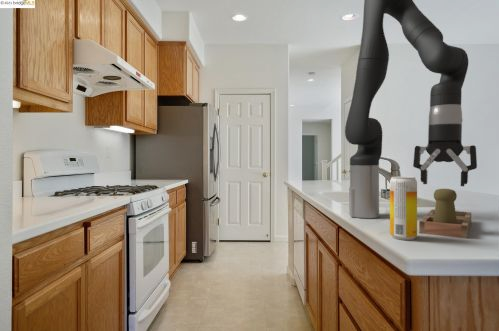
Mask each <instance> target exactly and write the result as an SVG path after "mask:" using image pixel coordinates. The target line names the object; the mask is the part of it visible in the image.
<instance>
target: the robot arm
mask: <svg viewBox="0 0 499 331" xmlns="http://www.w3.org/2000/svg"><path fill="white" fill-rule="evenodd" d="M385 14H386V15H389V16H391V17H392V18H394V19H395V20H396V21H397V22H398V23H399V24H400V27H401V30H402V34H403V36H404V37H405V39H406V40H407V41H408V42H409V44H410V45H411V46H412V47H413V48H414V49H415V50H416V51H417V54H418V56H419V58H420V61H421V62H422V64H423V66H424V67H425V68H426V69H427V70H428V71H429V72H432V73H434V74H440V79H439V82H438V83H435V84H434V85H433V86H432V87H431V88H430V93H429V94H430V96H429V97H430V98H429V112H428V113H429V114H428V132H427V133H428V137H427V139H428V140H427V146H420V145H416V146H415V147H414V153H413V165H412V166H413V168H415V169H418V170H420V182H421V183H422V185H427V184H428V172H429V170H427V169H428V168H429V167H430V166H431V165H432V164H433V163H434V162H436V163H442V162H445V163H452V162H455V164H456V165H457V166H458V167H459V169H461V172H460V187H465V185H467V184H468V182H469V181H468V180H469V177H468V176H469V171H470V172H471V171H472V170H476V169H477V167H478V164H477V162H478V161H477V146H476V145H472V144H471V145H467V146H466V145H465V146H463V144H462V139H463V138H462V135H463V134H462V132H463V110H462V88H463V85H464V82H465V79H466V76H467V73H468V69H469V57H468V54H467V51H466V50H464V49H463V48H461V47H457V46H453V45H450V44H447V42H444V35H443V32H442V31H441V30H440V29H439V28H438V27H437V26H436V25H435V24H434V23H433V22H432V20H430V19H429V18H428V17H427V16H426V15H425V14H424V13H423V12H422V11H421V10H420V9H419V8H418V6H417V5H416V3H415V2H414V0H364V3H363V19H362V20H363V21H362V32H361V40H360V48H359V53H358V59H357V60H358V61H357V64H356V71H355V72H356V73H355V81H354V87H353V92H352V99H351V102H350V107H349V111H348V115H347V118H346V122H345V127H344V135H345V139H346V141H347V142H348V143H349V144H350V145H355V146H356V145H357V150H356V152H355V154H354V155H352V156H351V157H350V158H349V188H348V192H349V199H348V200H349V205H348V206H349V208H348V210H349V211H348V212H349V215H350V217H351V218H358V219H376V218H379V217H380V160H381V157H382V150H383V128H382V125H381V122H380V121H379V120H378V119H376V118H374V117H370V110H371V107H372V102H373V100H374V98H375V97H376V95H377V93H378V91H380V89H381V87H382V85H383V84H384V81H385V79H386V77H387V76H386V75H387V71H388V66H389V60H390V52H389V46H388V42H387V39H386V35H385V31H384V18H385ZM425 151H426V153H427V154H428V155H429V157H428V158H427V159H426V160H425V162H424V163H423V164H421V155H423V154H424V153H425ZM463 151H465V153H466V154H467V155H469V157H470V158H469V159H470V160H469V161H470V165H467V164H465V162H464V161H463V159H461V157H460V155H461V154H462V153H463Z"/></svg>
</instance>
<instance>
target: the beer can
mask: <svg viewBox="0 0 499 331" xmlns="http://www.w3.org/2000/svg"><path fill="white" fill-rule="evenodd" d="M389 235H391V236H392V238H393V239H395V240H399V241H400V240H401V241H413V240H416V238H417V236H418V181H417V179H416V177H415V176H404V175H403V176H398V175H397V176H391V178H390V180H389Z"/></svg>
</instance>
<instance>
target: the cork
mask: <svg viewBox="0 0 499 331" xmlns="http://www.w3.org/2000/svg"><path fill="white" fill-rule="evenodd" d="M433 199H434V201H435V208H434V210H435V213H434V220H433V222H439V223H449V224H457V218H456V211H457V210H456V205H455V201H456V200H457V192H456V191H455V190H454V189H451V188H439V189H436V190H435V191H434V192H433Z"/></svg>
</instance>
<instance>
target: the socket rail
mask: <svg viewBox="0 0 499 331" xmlns="http://www.w3.org/2000/svg"><path fill="white" fill-rule="evenodd" d="M455 211H456V218H457V224H449V223H439V222H433V220H434V213H435V209H431V210H430V211H429V212H428V213H426V215H424V217H422V218H421V219H420V220H419V222H418V223H419V224H418V226H419V231H418V232H419V234H424V235H425V234H427V235H434V236H442V237H452V238H461V239H468V237H469V236H468V235H469V232H470V229H471V226H472V212H470V211H460V210H455Z"/></svg>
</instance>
